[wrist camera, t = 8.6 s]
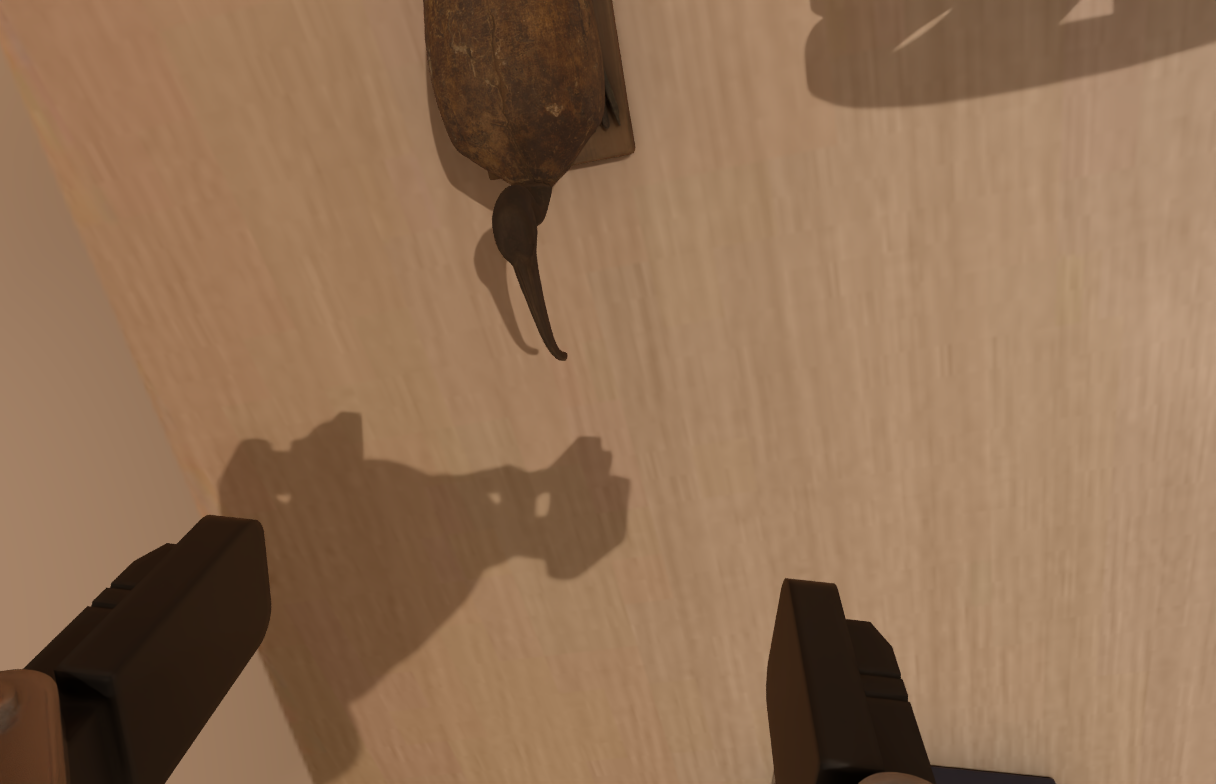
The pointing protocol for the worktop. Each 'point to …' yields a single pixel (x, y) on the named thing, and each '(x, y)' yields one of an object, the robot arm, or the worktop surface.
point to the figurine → (528, 107)
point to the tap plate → (983, 777)
